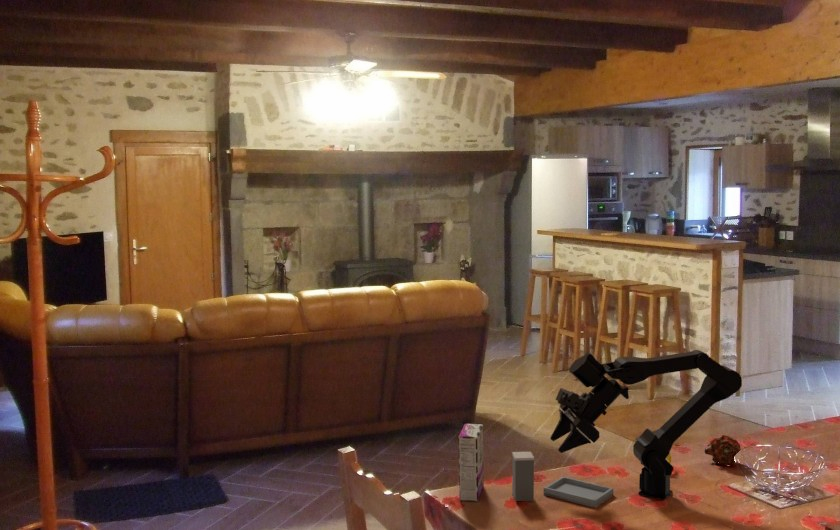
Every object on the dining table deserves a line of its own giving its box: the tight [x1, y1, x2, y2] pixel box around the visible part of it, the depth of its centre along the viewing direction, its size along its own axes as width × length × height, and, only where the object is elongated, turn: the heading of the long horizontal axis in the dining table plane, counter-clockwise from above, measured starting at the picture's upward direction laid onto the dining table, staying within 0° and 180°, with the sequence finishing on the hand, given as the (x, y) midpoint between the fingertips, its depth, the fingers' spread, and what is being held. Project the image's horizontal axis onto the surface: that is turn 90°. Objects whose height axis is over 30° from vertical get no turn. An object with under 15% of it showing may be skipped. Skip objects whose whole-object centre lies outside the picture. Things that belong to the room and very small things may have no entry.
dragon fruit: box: [703, 434, 742, 466], centre depth 223 cm, size 8×8×12 cm
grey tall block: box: [511, 451, 535, 502], centre depth 199 cm, size 5×5×11 cm
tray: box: [543, 476, 614, 509], centre depth 201 cm, size 14×10×2 cm
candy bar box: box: [457, 423, 485, 503], centre depth 203 cm, size 11×5×16 cm, turn 168°
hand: (555, 445), depth 199 cm, fingers open, 9 cm apart
